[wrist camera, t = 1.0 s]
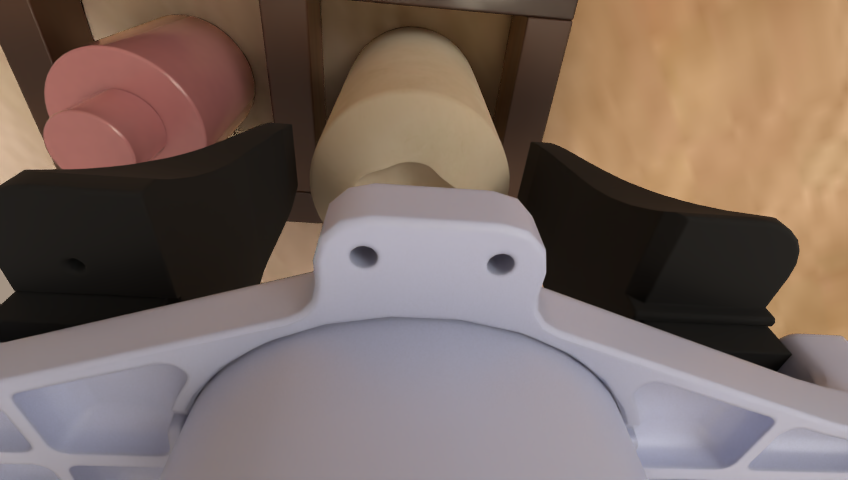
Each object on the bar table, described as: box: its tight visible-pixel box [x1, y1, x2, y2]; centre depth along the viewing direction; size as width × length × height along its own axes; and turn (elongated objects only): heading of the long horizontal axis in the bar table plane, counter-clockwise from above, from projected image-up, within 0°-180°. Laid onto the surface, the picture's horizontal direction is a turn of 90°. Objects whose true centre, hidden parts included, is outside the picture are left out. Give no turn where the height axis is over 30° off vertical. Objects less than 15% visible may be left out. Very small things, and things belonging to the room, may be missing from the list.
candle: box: [310, 27, 510, 223], centre depth 15 cm, size 6×6×10 cm
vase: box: [43, 15, 255, 169], centre depth 15 cm, size 5×5×8 cm
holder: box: [0, 0, 578, 223], centre depth 18 cm, size 11×20×3 cm, turn 85°
